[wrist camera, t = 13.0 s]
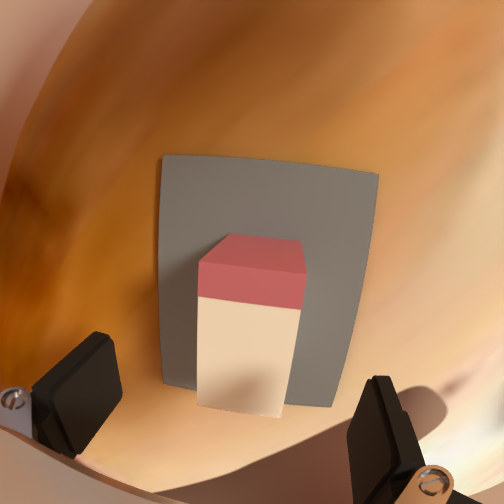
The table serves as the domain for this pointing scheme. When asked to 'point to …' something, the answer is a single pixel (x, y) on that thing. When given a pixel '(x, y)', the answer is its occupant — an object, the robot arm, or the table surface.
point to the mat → (273, 226)
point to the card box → (248, 322)
